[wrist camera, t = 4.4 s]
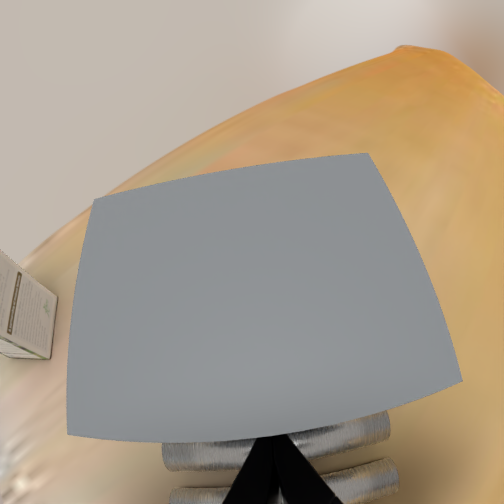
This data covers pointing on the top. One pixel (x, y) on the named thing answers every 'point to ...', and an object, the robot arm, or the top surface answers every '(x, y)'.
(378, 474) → the roller track
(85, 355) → the grey block
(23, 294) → the syrup box
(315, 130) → the top surface
